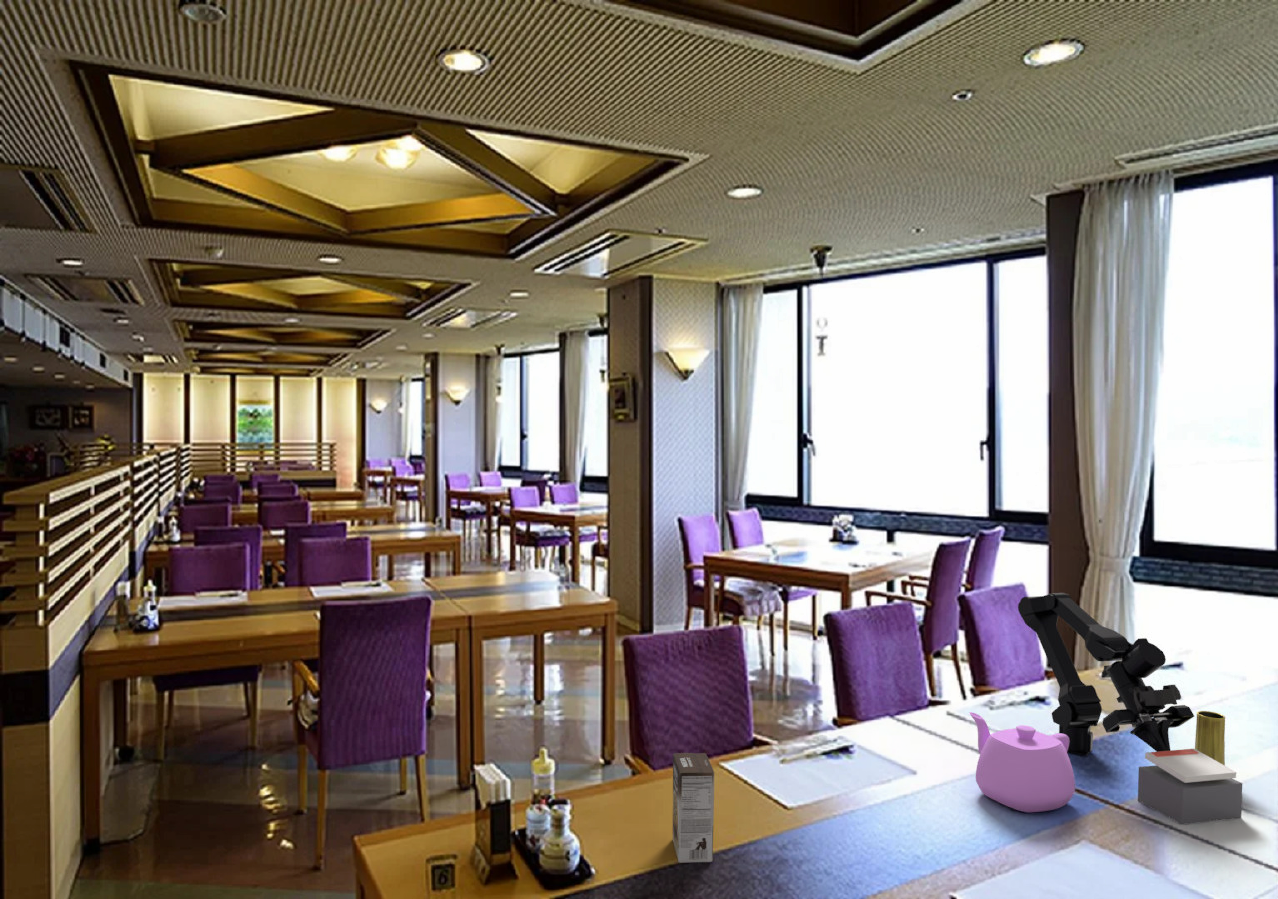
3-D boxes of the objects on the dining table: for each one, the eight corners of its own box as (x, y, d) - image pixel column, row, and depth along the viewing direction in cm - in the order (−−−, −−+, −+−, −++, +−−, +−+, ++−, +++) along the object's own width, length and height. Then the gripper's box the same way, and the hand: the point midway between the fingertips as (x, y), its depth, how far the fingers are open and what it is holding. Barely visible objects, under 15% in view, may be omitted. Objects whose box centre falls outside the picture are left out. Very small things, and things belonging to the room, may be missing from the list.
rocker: (1144, 758, 179) (1145, 751, 179) (1193, 754, 181) (1194, 747, 181) (1184, 782, 169) (1185, 776, 169) (1235, 778, 172) (1236, 771, 171)
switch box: (1137, 800, 179) (1138, 767, 179) (1194, 795, 182) (1195, 762, 182) (1181, 824, 168) (1182, 788, 168) (1241, 818, 172) (1242, 783, 171)
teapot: (1101, 805, 177) (1103, 731, 177) (1028, 824, 168) (1030, 747, 167) (1009, 765, 198) (1010, 699, 197) (940, 780, 188) (941, 712, 188)
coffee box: (671, 839, 160) (672, 752, 160) (705, 838, 161) (706, 751, 160) (677, 863, 151) (678, 772, 151) (713, 862, 152) (715, 771, 151)
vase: (1231, 785, 187) (1233, 720, 187) (1199, 783, 188) (1201, 718, 188) (1218, 774, 193) (1220, 711, 193) (1187, 772, 194) (1189, 709, 194)
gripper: (1115, 673, 182) (1154, 745, 172) (1190, 668, 186) (1231, 739, 176) (1086, 696, 190) (1121, 767, 181) (1158, 691, 195) (1196, 760, 185)
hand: (1168, 758), depth 180 cm, fingers closed, pressing on rocker
